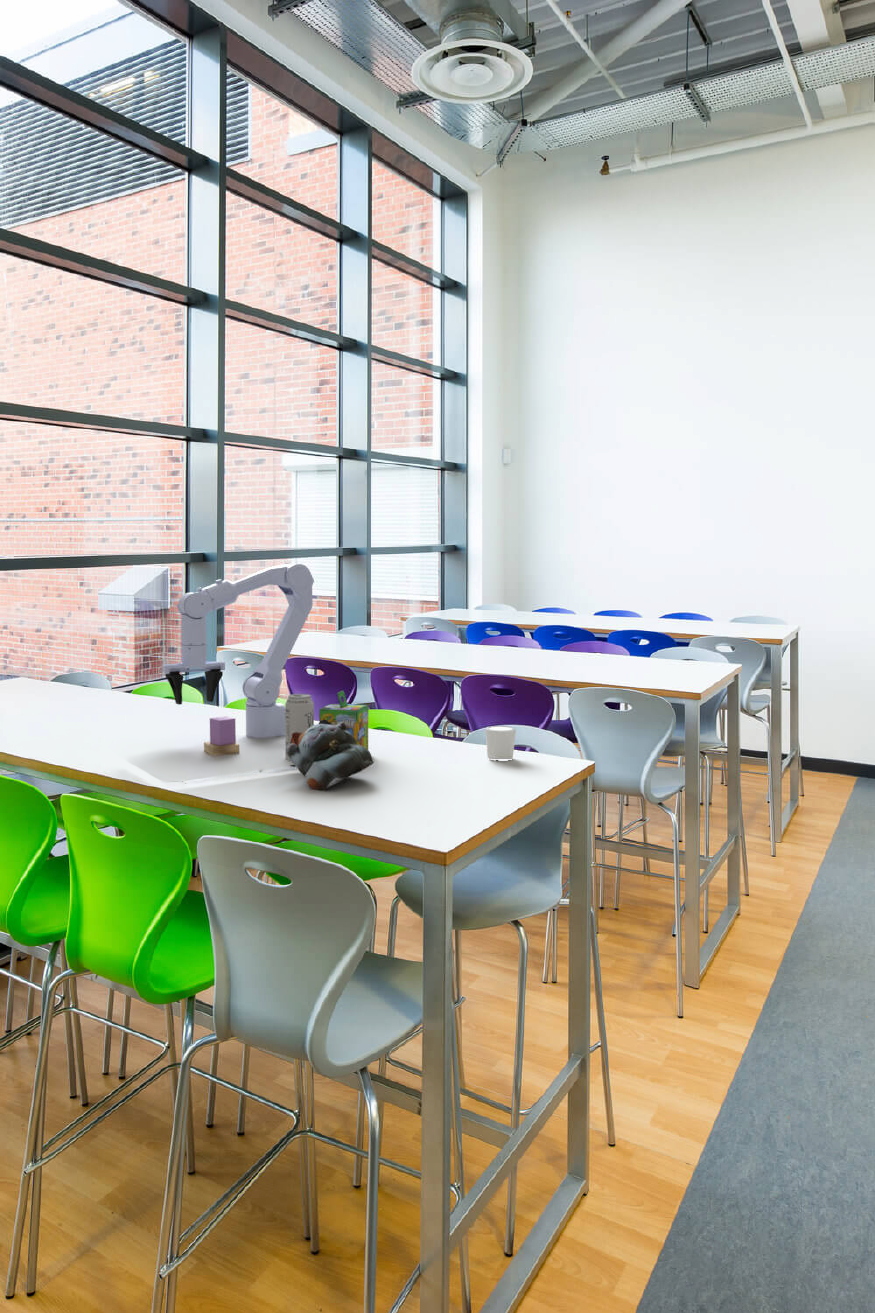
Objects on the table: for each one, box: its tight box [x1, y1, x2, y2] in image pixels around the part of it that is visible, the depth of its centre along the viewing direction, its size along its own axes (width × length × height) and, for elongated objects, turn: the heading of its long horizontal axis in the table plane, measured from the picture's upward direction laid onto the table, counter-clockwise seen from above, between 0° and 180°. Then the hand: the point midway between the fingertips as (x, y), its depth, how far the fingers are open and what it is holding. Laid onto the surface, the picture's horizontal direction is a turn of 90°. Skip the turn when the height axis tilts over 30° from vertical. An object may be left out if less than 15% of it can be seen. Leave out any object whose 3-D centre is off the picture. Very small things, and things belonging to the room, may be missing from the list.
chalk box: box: [319, 690, 369, 751], centre depth 201 cm, size 9×9×15 cm
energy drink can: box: [284, 693, 315, 768], centre depth 192 cm, size 6×6×15 cm
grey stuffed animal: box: [284, 719, 374, 792], centre depth 178 cm, size 15×12×14 cm
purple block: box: [209, 716, 237, 745], centre depth 198 cm, size 4×4×6 cm
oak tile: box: [203, 741, 240, 757], centre depth 198 cm, size 6×6×2 cm
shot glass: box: [485, 725, 517, 760], centre depth 202 cm, size 7×7×7 cm
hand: (194, 702), depth 209 cm, fingers open, 7 cm apart
